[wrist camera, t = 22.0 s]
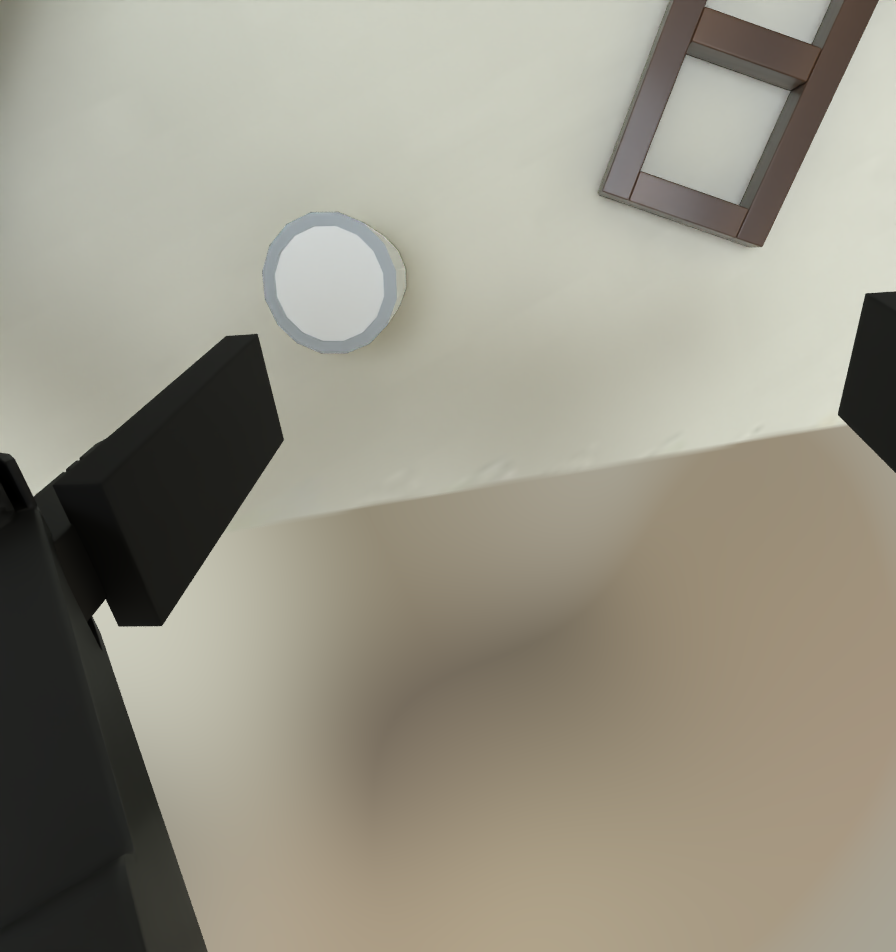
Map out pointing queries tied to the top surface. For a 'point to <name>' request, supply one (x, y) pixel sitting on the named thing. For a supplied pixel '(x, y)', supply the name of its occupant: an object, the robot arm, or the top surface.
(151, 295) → the top surface
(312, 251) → the white short cylinder
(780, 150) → the frame
